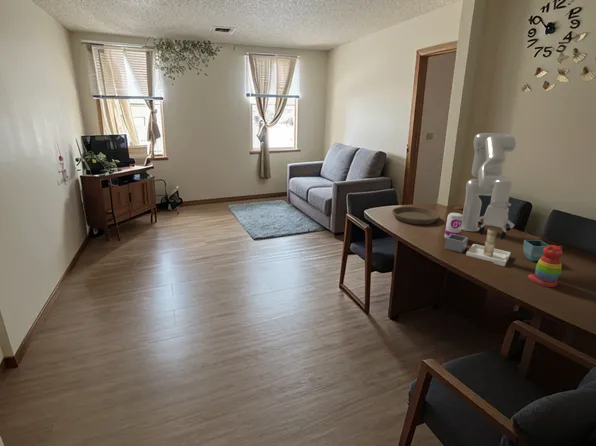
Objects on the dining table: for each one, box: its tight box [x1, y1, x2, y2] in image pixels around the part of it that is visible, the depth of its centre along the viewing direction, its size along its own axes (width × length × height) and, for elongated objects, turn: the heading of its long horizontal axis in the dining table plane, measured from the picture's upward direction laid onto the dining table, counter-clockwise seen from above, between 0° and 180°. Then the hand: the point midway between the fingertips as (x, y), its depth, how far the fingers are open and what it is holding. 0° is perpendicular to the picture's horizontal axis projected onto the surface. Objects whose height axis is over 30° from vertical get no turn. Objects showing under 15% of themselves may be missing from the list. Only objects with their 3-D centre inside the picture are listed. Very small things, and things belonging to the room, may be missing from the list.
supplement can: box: [443, 212, 463, 239], centre depth 208 cm, size 8×8×15 cm
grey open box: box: [443, 234, 469, 254], centre depth 194 cm, size 9×9×7 cm
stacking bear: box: [527, 244, 563, 288], centre depth 159 cm, size 11×10×18 cm
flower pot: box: [522, 239, 550, 262], centre depth 184 cm, size 9×9×9 cm
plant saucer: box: [391, 206, 441, 225], centre depth 245 cm, size 31×31×5 cm
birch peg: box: [483, 227, 498, 256], centre depth 184 cm, size 4×4×14 cm
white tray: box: [465, 243, 511, 267], centre depth 187 cm, size 15×18×2 cm
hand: (491, 236), depth 183 cm, fingers open, 9 cm apart
